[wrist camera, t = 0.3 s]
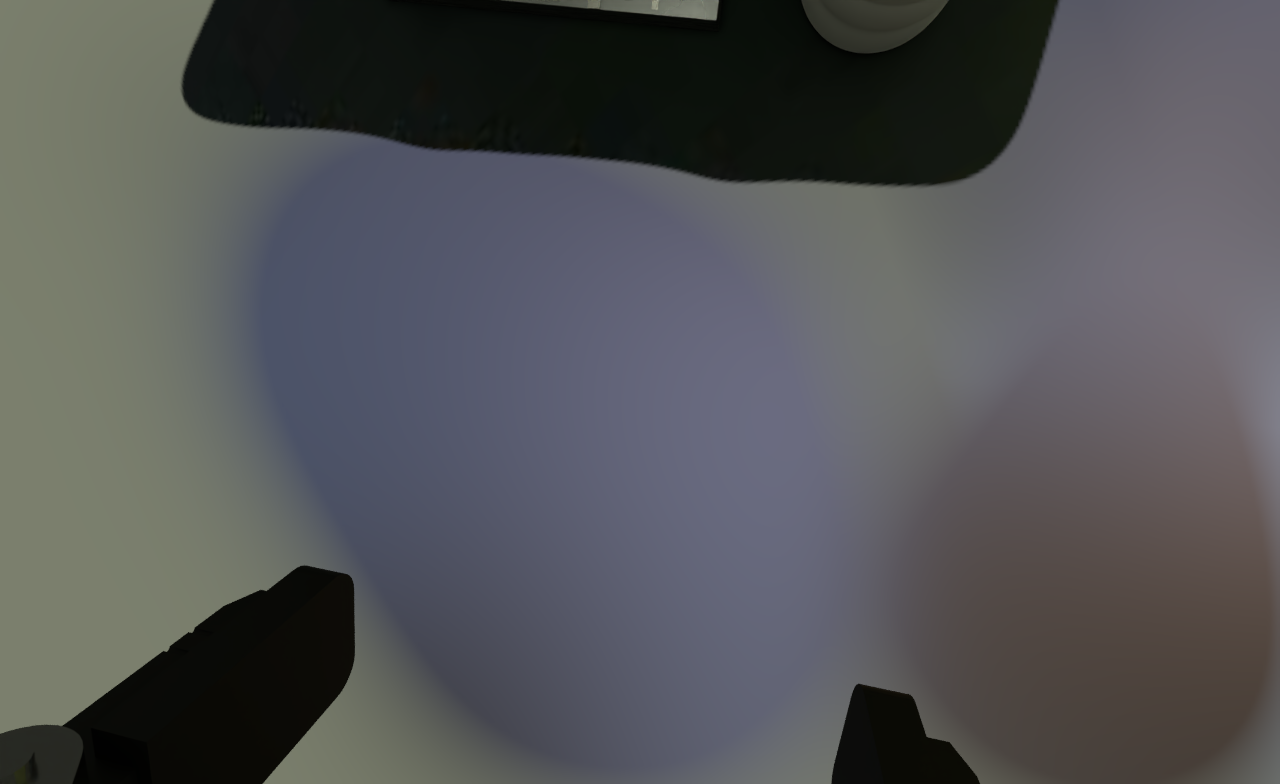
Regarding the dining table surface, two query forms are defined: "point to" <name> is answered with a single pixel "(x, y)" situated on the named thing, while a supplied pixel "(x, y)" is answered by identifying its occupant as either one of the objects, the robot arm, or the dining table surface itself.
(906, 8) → the water bottle
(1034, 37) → the dining table surface
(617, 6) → the console
